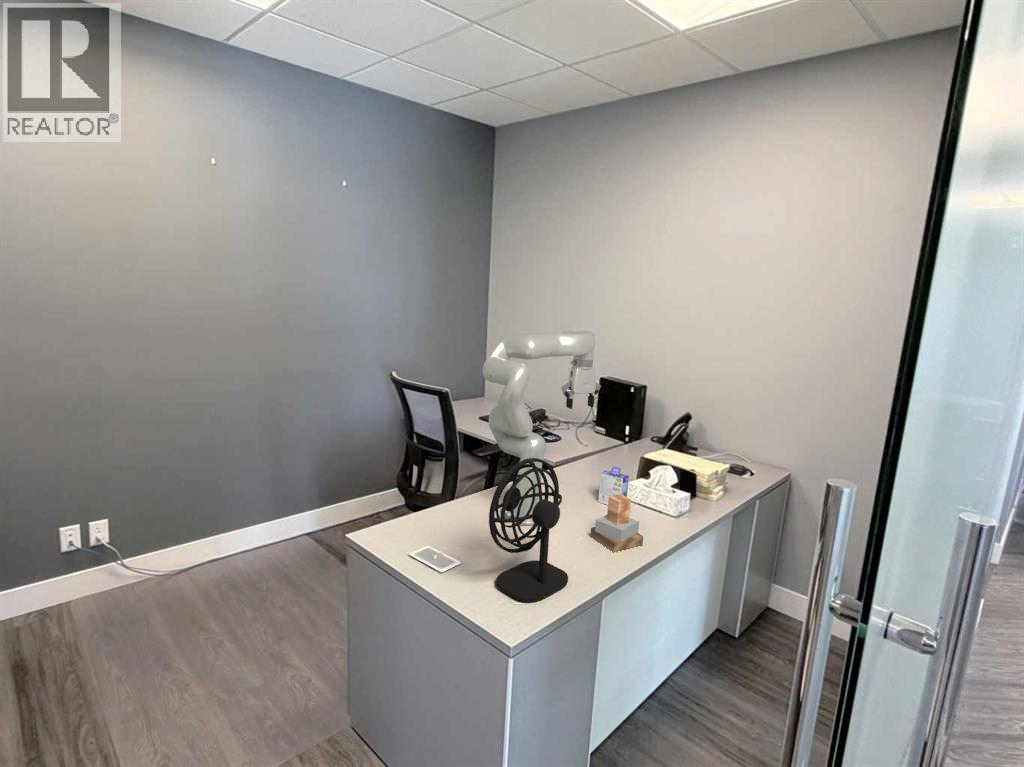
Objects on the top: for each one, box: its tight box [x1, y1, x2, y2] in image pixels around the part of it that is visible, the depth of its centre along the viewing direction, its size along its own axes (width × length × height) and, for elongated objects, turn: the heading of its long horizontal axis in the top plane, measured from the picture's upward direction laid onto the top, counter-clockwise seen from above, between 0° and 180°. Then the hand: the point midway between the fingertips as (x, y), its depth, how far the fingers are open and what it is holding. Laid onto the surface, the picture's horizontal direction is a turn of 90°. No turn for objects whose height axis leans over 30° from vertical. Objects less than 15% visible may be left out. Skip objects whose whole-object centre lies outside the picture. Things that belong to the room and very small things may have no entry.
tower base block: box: [590, 526, 644, 554], centre depth 177 cm, size 12×12×4 cm
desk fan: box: [488, 458, 569, 603], centre depth 148 cm, size 27×18×35 cm, turn 135°
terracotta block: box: [606, 494, 632, 525], centre depth 175 cm, size 5×5×8 cm
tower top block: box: [594, 514, 640, 542], centre depth 176 cm, size 10×10×4 cm
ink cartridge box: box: [597, 466, 630, 506], centre depth 207 cm, size 10×6×14 cm, turn 53°
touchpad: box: [408, 545, 462, 573], centre depth 160 cm, size 8×15×2 cm, turn 49°
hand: (580, 407), depth 209 cm, fingers open, 9 cm apart
